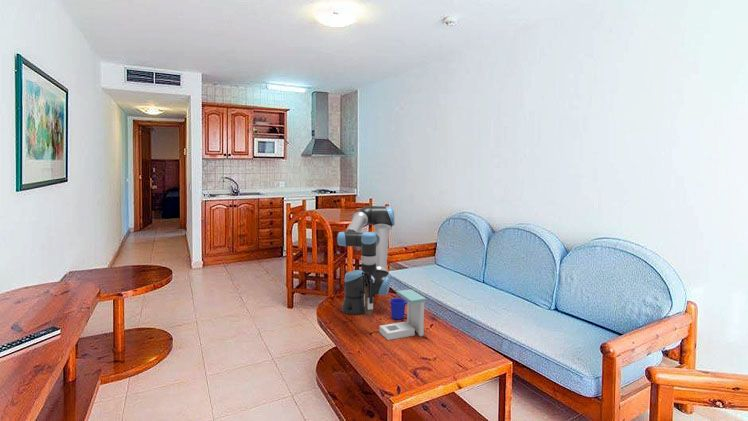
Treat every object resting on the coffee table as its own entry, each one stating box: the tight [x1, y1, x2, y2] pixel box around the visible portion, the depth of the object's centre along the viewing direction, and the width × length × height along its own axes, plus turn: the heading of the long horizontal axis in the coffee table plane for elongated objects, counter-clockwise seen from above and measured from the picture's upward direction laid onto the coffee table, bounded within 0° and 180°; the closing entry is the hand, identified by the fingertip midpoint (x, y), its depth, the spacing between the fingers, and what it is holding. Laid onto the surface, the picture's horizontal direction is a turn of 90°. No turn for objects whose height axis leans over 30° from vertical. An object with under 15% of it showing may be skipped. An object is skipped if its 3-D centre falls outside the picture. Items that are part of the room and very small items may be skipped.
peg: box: [364, 286, 374, 316], centre depth 204 cm, size 4×4×14 cm
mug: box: [390, 297, 407, 320], centre depth 223 cm, size 8×12×10 cm
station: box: [379, 288, 427, 341], centre depth 203 cm, size 16×20×20 cm
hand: (368, 307), depth 204 cm, fingers closed on peg, 4 cm apart
